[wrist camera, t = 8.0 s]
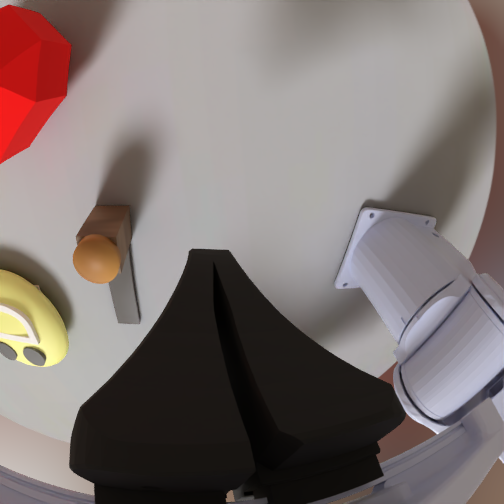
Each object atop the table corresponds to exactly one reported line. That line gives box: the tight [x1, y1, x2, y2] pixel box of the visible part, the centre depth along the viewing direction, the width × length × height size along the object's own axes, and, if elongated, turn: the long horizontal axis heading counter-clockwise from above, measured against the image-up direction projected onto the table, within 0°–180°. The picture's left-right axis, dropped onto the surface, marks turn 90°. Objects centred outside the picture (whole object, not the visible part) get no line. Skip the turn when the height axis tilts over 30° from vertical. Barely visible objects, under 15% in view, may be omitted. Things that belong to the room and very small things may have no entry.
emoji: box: [0, 269, 69, 367], centre depth 18 cm, size 4×12×12 cm
